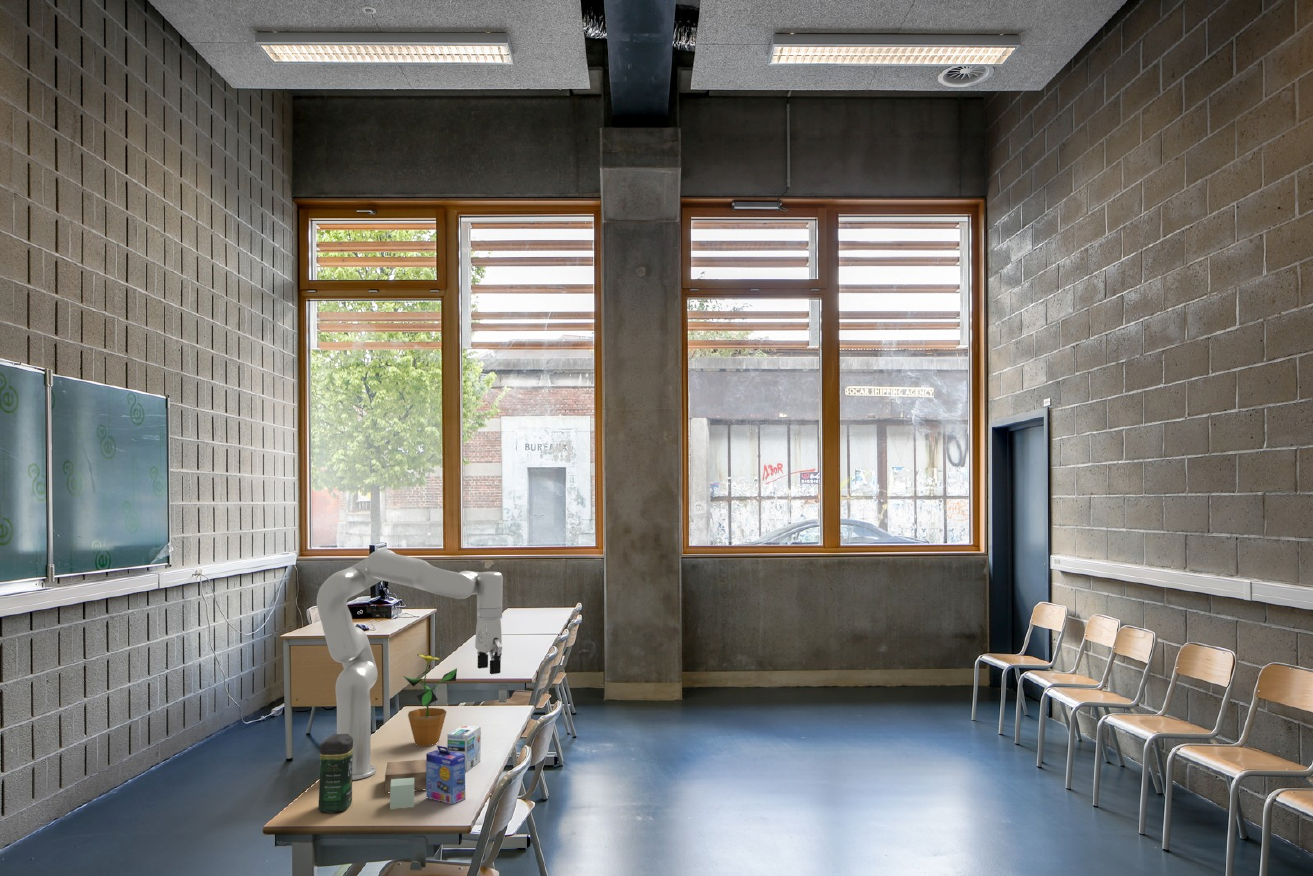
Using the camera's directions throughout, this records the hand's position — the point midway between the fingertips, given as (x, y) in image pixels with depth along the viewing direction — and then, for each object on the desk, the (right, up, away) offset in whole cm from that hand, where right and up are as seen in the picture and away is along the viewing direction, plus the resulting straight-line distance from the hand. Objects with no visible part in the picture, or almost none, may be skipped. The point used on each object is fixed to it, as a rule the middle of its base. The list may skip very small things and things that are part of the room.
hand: (488, 670), depth 271 cm
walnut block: (-20, -29, -15) cm, 38 cm away
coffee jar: (-34, -28, -33) cm, 55 cm away
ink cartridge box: (-7, -28, -26) cm, 39 cm away
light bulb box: (-8, -30, +3) cm, 31 cm away
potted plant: (-25, -31, +27) cm, 49 cm away
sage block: (-17, -28, -30) cm, 45 cm away
